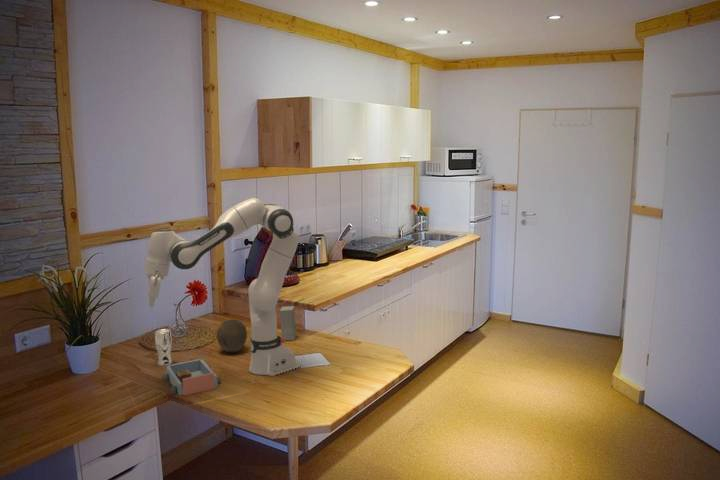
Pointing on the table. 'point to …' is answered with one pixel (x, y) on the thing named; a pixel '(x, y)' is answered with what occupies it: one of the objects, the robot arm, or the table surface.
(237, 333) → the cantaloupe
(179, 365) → the flatbed
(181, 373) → the brown small block
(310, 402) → the table surface
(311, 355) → the table surface
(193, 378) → the tailgate
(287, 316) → the skincare box
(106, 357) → the table surface
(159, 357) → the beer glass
